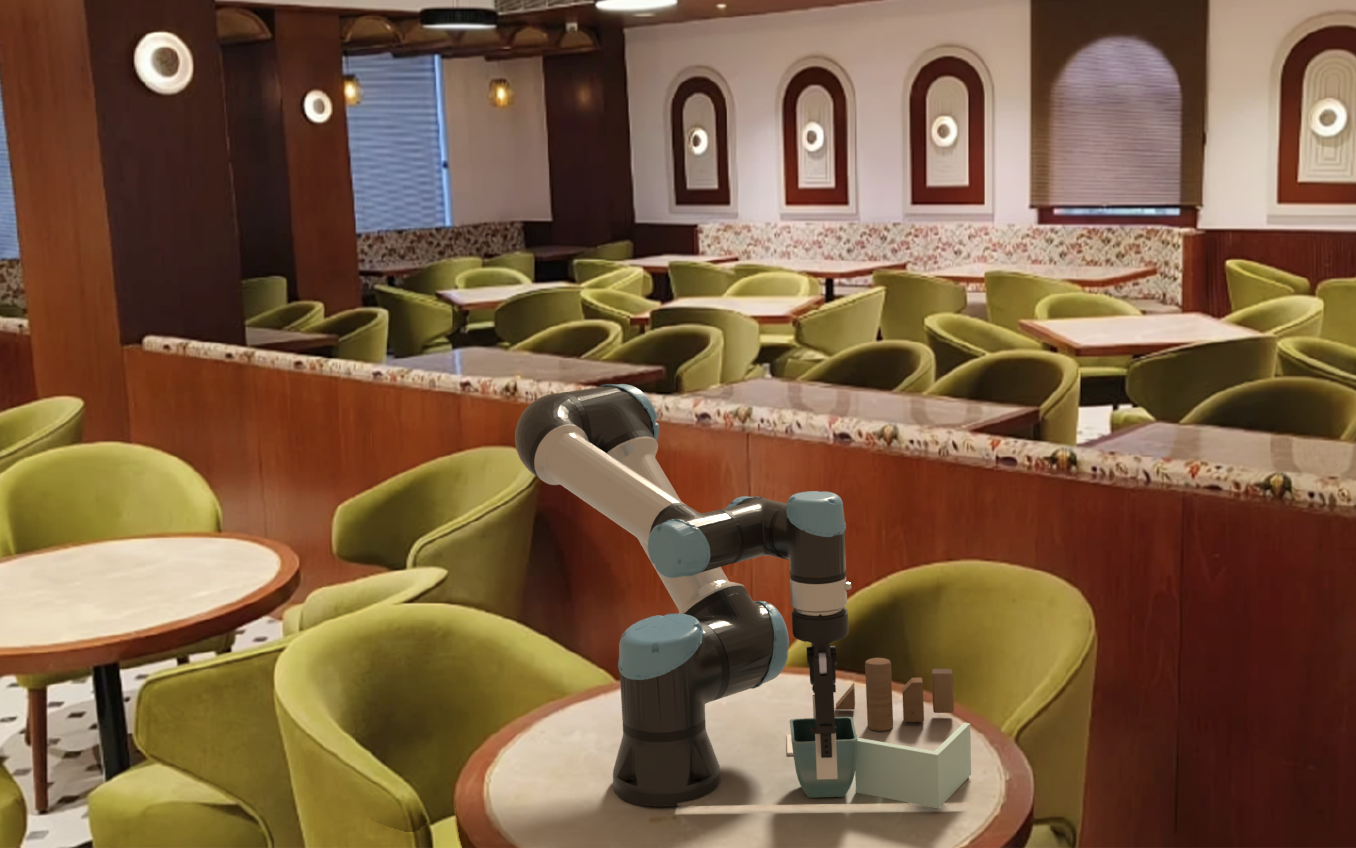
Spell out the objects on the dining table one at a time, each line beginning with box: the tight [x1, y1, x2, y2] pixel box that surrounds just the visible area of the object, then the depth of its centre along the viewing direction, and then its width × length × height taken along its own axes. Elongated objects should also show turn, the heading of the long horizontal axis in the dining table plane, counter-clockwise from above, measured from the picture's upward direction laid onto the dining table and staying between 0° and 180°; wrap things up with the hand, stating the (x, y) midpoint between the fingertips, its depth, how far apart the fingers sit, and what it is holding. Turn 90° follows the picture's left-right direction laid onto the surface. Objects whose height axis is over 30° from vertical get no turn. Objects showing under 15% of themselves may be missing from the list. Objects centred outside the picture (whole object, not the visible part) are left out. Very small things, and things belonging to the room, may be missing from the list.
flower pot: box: [789, 716, 858, 799], centre depth 199 cm, size 9×9×9 cm
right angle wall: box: [854, 722, 972, 809], centre depth 200 cm, size 12×12×8 cm
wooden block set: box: [834, 657, 955, 732], centre depth 222 cm, size 18×9×10 cm, turn 82°
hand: (825, 758), depth 199 cm, fingers open, 13 cm apart
